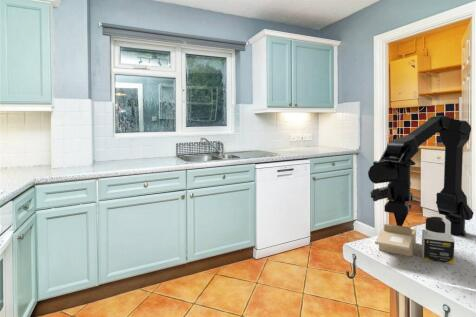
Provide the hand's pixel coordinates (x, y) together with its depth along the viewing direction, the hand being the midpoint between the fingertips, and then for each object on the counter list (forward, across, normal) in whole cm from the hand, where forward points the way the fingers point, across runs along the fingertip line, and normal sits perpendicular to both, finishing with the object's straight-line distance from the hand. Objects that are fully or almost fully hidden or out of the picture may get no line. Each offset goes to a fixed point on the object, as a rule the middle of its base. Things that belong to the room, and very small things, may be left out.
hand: (399, 227), depth 95 cm
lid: (+1, +9, 0) cm, 9 cm away
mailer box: (+6, +2, 0) cm, 6 cm away
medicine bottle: (+6, +4, +10) cm, 13 cm away
